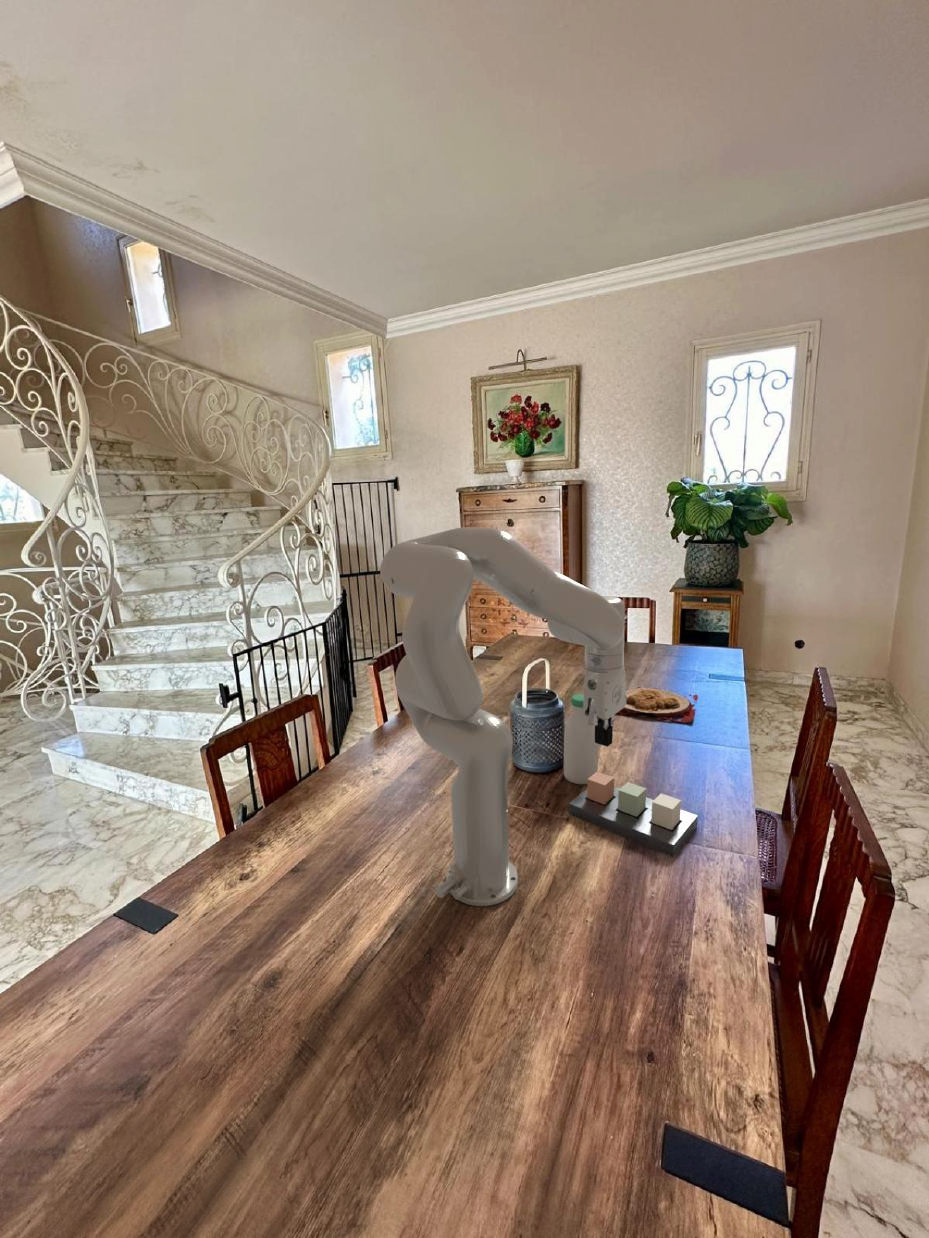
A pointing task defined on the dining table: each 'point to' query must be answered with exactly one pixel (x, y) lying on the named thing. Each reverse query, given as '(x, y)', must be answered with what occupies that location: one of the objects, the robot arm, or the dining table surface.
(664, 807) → the ivory key
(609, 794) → the terracotta key
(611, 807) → the panel
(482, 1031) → the dining table surface
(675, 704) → the plate with food
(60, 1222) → the dining table surface
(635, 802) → the sage key
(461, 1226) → the dining table surface
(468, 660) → the robot arm
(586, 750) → the milk bottle
